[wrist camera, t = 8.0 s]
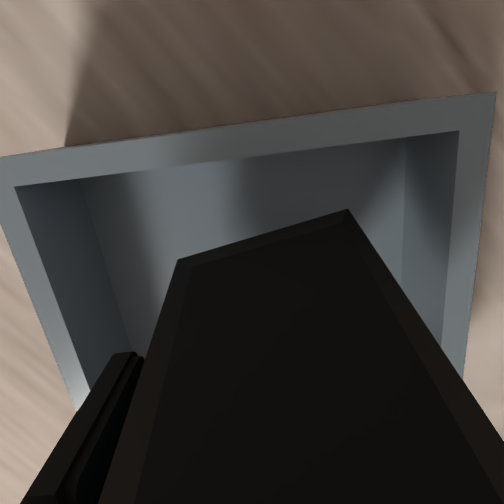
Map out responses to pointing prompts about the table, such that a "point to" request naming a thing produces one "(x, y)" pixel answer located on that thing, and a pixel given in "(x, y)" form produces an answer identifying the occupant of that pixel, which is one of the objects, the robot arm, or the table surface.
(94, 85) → the table surface
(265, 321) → the speaker
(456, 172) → the open box
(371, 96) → the table surface
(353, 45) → the table surface
